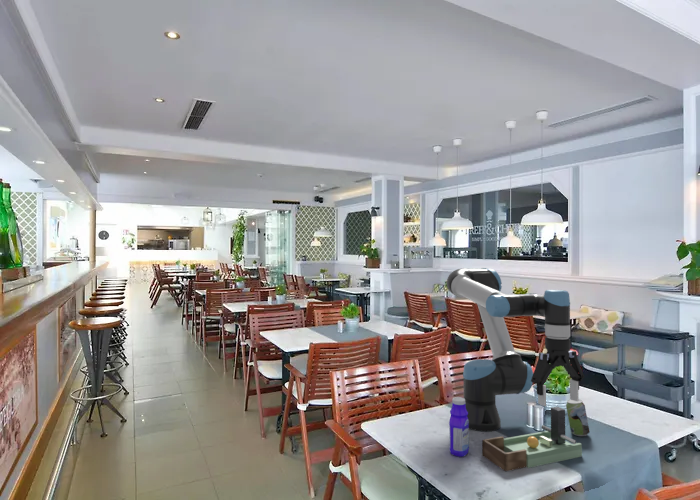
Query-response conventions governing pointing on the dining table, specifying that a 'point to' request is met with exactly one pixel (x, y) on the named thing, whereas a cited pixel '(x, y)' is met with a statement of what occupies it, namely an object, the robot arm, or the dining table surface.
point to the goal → (503, 454)
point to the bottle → (459, 428)
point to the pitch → (542, 449)
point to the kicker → (556, 428)
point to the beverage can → (577, 417)
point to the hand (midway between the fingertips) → (558, 402)
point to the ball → (532, 442)
